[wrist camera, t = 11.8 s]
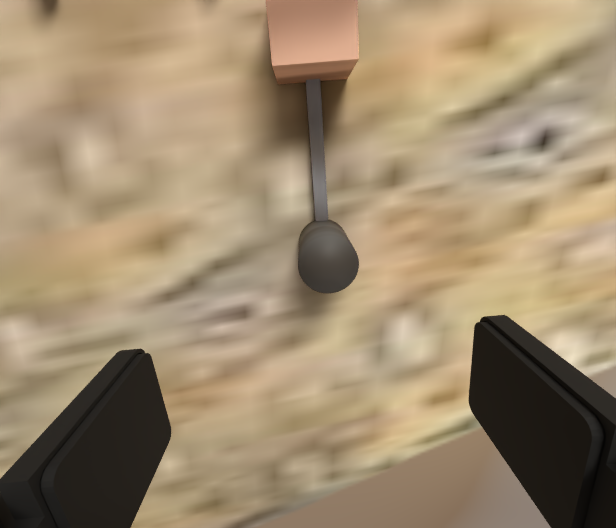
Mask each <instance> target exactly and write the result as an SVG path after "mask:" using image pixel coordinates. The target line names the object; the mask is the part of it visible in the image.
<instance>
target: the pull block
mask: <svg viewBox="0 0 616 528" xmlns="http://www.w3.org/2000/svg"><path fill="white" fill-rule="evenodd" d="M266 7H267V18H268V28H269V38H270V49H271V59H272V67H273V70H274V73H275V76H276V80H277V83H278V85H279V84H291V83H304V82H306V93H307V108H308V122H309V136H310V151H311V165H312V180H313V194H314V208H315V221H313V222H311V223H309V224H308V225H307V226H306V227H305V228H304V229H303V231H302V232H301V235H300V238H299V257H298V269H299V273H300V276H301V278H302V280H303V281H304V283H305V284H306V285H307V286H308V287H310V288H311V289H313V290H315V291H317V292H321V293H335V292H338V291H341V290H343V289H345V288H346V287H347V286H349V285H350V284H351V283H352V281H353V280H354V279H355V277H356V275H357V272H358V267H359V260H358V256H357V253H356V251H355V249H354V247H353V246H352V244H351V242H350V241H349V239H348V237H347V235H346V234H345V232H344V230H343V229H342V227H341V226H340V225H339V224H337V223H336V222H334V221H332V220H328V207H327V190H326V172H325V155H324V137H323V119H322V102H321V84H320V81H328V80H341V79H348V77H349V75H350V73H351V72H352V70H353V68H354V66H355V65H356V63H357V61H358V59H359V44H358V2H357V0H266Z"/></svg>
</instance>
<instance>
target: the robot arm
mask: <svg viewBox="0 0 616 528" xmlns="http://www.w3.org/2000/svg"><path fill="white" fill-rule="evenodd" d="M469 405H470V408H471V411H472V413H473V414H474V416H475V417H476V419H477V420H478V422H479V423H480V424H481V426H482V427H483V429H484V430H485V432H486V433H487V435H488V436H489V437H490V439H491V441H492V442H493V443H494V445H495V446H496V448H497V449H498V451H499V452H500V454H501V455H502V457H503V458H504V459H505V461H506V462H507V464H508V465H509V466H510V468H511V470H512V471H513V473H514V474H515V476H516V477H517V478H518V480H519V481H520V483H521V484H522V486H523V487H524V489H525V490H526V492H527V493H528V495H529V496H530V497H531V499H532V500H533V502H534V503H535V505H536V506H537V508H538V509H539V510H540V512H541V514H542V515H543V516H544V518H545V519H546V521H547V522H548V524H549V525H550V527H551V528H616V398H614V397H613V396H612V395H610V394H609V393H608V392H606V391H605V390H604V389H602V388H601V387H600V386H598V385H597V384H596V383H594V382H593V381H592V380H591V379H589V378H588V377H587V376H585V375H584V374H583V373H581V372H580V371H579V370H577V369H576V368H575V367H573V366H572V365H571V364H569V363H568V362H567V361H565V360H564V359H563V358H562V357H560V356H559V355H558V354H556V353H555V352H554V351H552V350H551V349H550V348H548V347H547V346H546V345H544V344H543V343H542V342H540V341H539V340H538V339H536V338H535V337H534V336H532V335H531V334H530V333H529V332H527V331H526V330H525V329H523V328H522V327H521V326H519V325H518V324H517V323H515V322H514V321H513V320H511V319H510V318H509V317H507V316H505V315H498V316H487V317H483V318H481V320H480V322H478V323H476V325H475V328H474V340H473V352H472V365H471V377H470V389H469ZM170 437H171V426H170V422H169V419H168V415H167V411H166V408H165V404H164V401H163V397H162V393H161V390H160V386H159V383H158V379H157V375H156V372H155V368H154V365H153V361H152V358H151V355H150V354H148V353H145V352H144V350H142V349H133V350H122V351H119V352H118V353H116V354H115V356H114V357H113V358H112V359H111V360H110V361H109V362H108V363H107V364H106V365H105V366H104V367H103V368H102V370H101V371H100V372H99V373H98V374H97V375H96V376H95V377H94V378H93V379H92V380H91V381H90V383H89V384H88V385H87V386H86V387H85V388H84V389H83V390H82V391H81V392H80V393H79V394H78V395H77V397H76V398H75V399H74V400H73V401H72V402H71V403H70V404H69V405H68V406H67V407H66V408H65V410H64V411H63V412H62V413H61V414H60V415H59V416H58V417H57V418H56V419H55V420H54V421H53V422H52V424H51V425H50V426H49V427H48V428H47V429H46V430H45V431H44V432H43V433H42V434H41V435H40V437H39V438H38V439H37V440H36V441H35V442H34V443H33V444H32V445H31V446H30V447H29V448H28V449H27V451H26V452H25V453H24V454H23V455H22V456H21V457H20V458H19V459H18V460H17V461H16V462H15V464H14V465H13V466H12V467H11V468H10V469H9V470H8V471H7V472H6V473H5V474H4V475H3V477H2V478H1V479H0V528H130V527H131V525H132V523H133V521H134V519H135V516H136V514H137V512H138V510H139V507H140V505H141V503H142V501H143V499H144V496H145V494H146V492H147V490H148V488H149V485H150V483H151V481H152V479H153V477H154V474H155V472H156V470H157V468H158V465H159V463H160V461H161V459H162V457H163V454H164V452H165V450H166V448H167V446H168V443H169V441H170Z"/></svg>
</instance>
